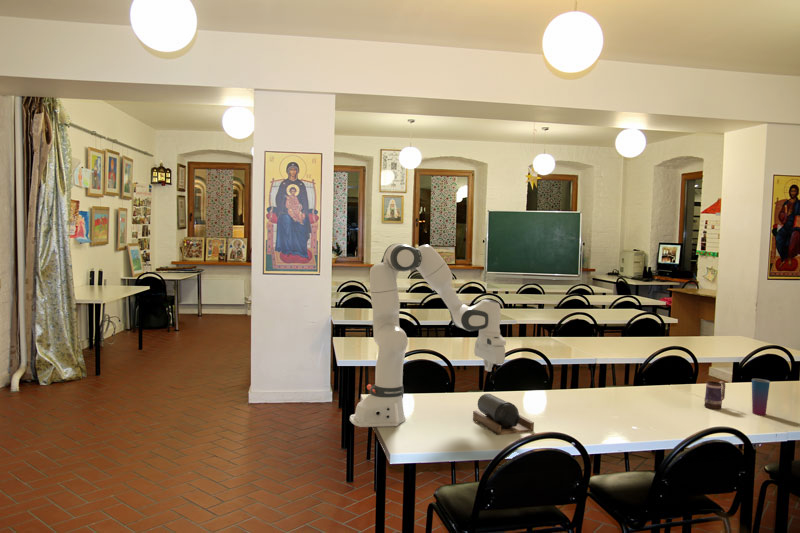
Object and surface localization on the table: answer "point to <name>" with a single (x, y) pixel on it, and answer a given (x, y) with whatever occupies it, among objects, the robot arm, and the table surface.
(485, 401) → the water bottle
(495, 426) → the cradle
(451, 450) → the table surface
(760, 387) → the cup
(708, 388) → the mug
